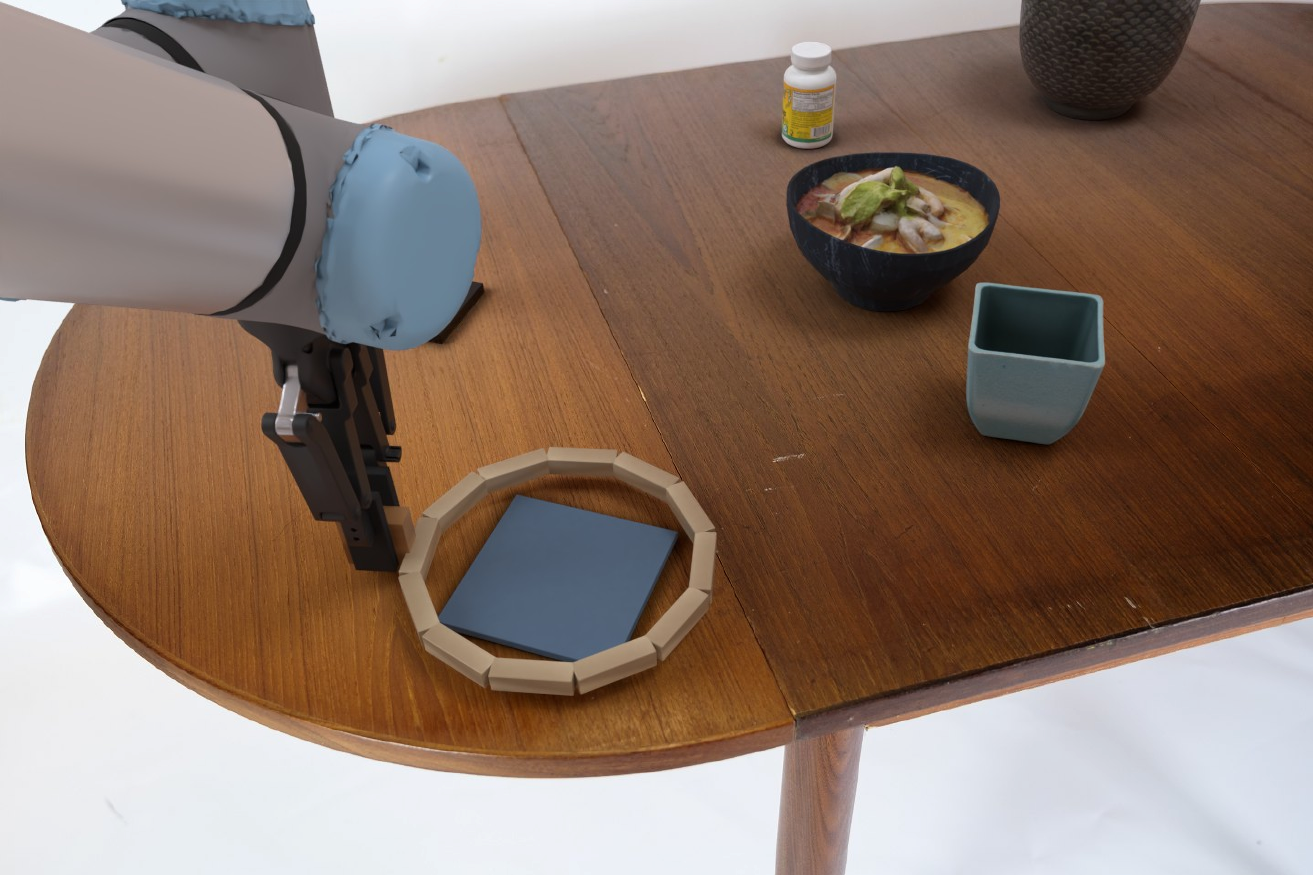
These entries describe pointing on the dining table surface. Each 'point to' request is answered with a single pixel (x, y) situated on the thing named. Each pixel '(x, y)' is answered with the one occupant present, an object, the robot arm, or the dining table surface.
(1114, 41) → the planter
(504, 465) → the segmented ring with tab
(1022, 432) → the flower pot
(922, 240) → the bowl
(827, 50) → the supplement bottle
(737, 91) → the dining table surface
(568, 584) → the mat
